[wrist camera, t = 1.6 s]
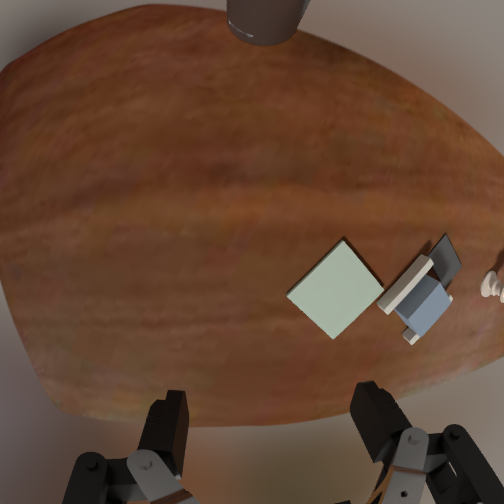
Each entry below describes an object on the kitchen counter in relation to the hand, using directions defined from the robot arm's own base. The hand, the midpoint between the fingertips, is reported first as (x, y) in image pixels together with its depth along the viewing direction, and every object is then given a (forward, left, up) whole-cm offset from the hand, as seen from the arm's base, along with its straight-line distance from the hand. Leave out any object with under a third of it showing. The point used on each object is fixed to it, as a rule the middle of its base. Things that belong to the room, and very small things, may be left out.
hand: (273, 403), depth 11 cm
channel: (-16, +23, -24) cm, 36 cm away
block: (-13, +23, -24) cm, 35 cm away
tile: (-5, +12, -24) cm, 27 cm away
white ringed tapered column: (-28, +37, -24) cm, 52 cm away
